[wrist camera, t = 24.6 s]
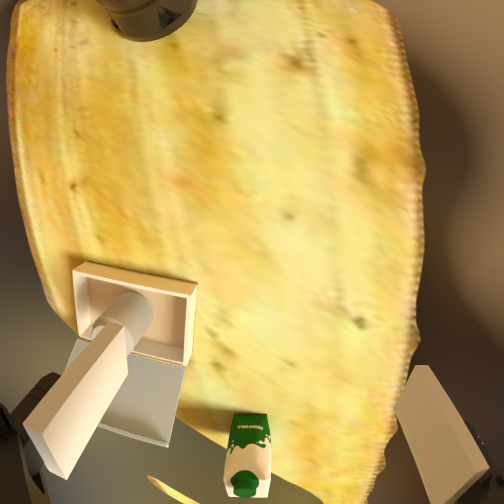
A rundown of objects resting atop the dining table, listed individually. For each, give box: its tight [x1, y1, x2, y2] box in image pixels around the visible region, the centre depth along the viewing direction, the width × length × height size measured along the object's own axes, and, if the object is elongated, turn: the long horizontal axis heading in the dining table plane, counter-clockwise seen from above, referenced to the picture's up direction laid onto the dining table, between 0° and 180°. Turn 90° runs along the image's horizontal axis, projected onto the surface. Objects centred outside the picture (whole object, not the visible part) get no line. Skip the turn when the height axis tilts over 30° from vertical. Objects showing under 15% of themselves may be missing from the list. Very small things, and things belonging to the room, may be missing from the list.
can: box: [91, 292, 153, 356], centre depth 47 cm, size 8×8×12 cm
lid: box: [64, 339, 186, 448], centre depth 44 cm, size 15×22×2 cm
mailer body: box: [72, 261, 198, 366], centre depth 51 cm, size 14×22×5 cm, turn 81°
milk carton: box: [224, 414, 271, 498], centre depth 51 cm, size 9×9×20 cm
